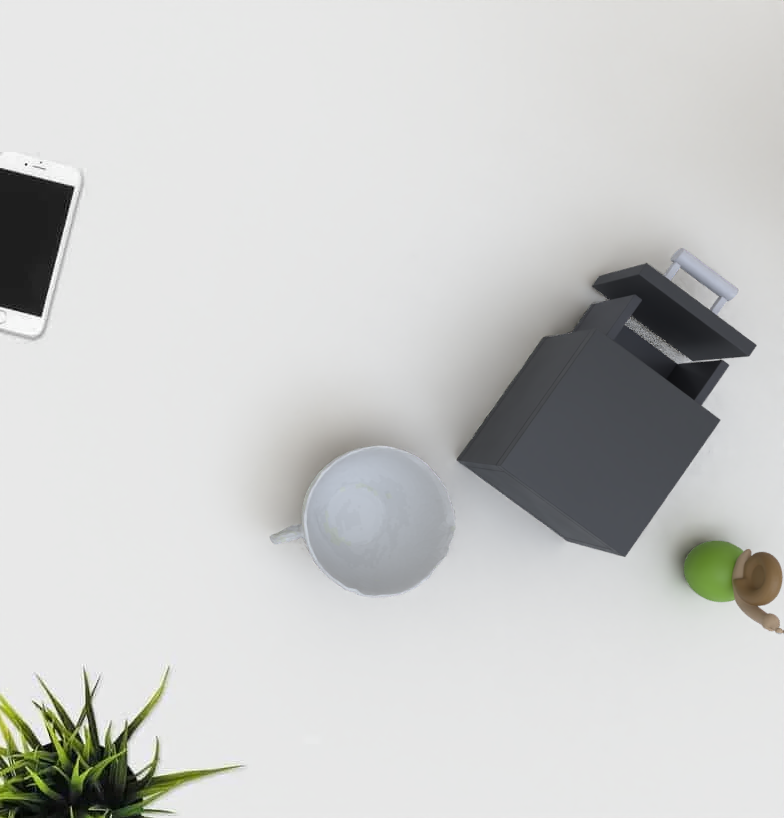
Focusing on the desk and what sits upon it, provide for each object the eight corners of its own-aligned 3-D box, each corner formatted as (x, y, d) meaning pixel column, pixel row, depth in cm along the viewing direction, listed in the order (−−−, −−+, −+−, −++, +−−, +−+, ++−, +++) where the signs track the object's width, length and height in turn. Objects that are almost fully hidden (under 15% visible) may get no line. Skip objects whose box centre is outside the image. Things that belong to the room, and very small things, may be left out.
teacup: (410, 431, 90) (441, 433, 82) (435, 567, 90) (468, 582, 82) (248, 462, 90) (262, 466, 82) (273, 598, 90) (290, 617, 82)
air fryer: (543, 337, 91) (597, 327, 81) (654, 419, 91) (721, 419, 82) (456, 460, 91) (500, 465, 81) (568, 542, 91) (625, 557, 81)
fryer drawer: (625, 238, 90) (675, 221, 82) (726, 313, 91) (786, 304, 83) (518, 388, 90) (559, 386, 82) (621, 463, 90) (671, 468, 82)
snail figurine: (665, 602, 91) (752, 631, 79) (675, 533, 91) (763, 551, 80) (722, 610, 92) (817, 640, 80) (732, 541, 92) (828, 560, 80)
